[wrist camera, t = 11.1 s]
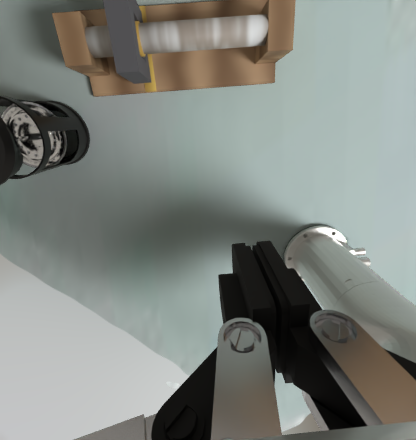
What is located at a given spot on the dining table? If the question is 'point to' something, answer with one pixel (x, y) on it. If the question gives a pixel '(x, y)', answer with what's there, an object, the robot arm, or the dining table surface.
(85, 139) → the french press
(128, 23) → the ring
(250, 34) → the pipe stand
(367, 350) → the robot arm
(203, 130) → the dining table surface
